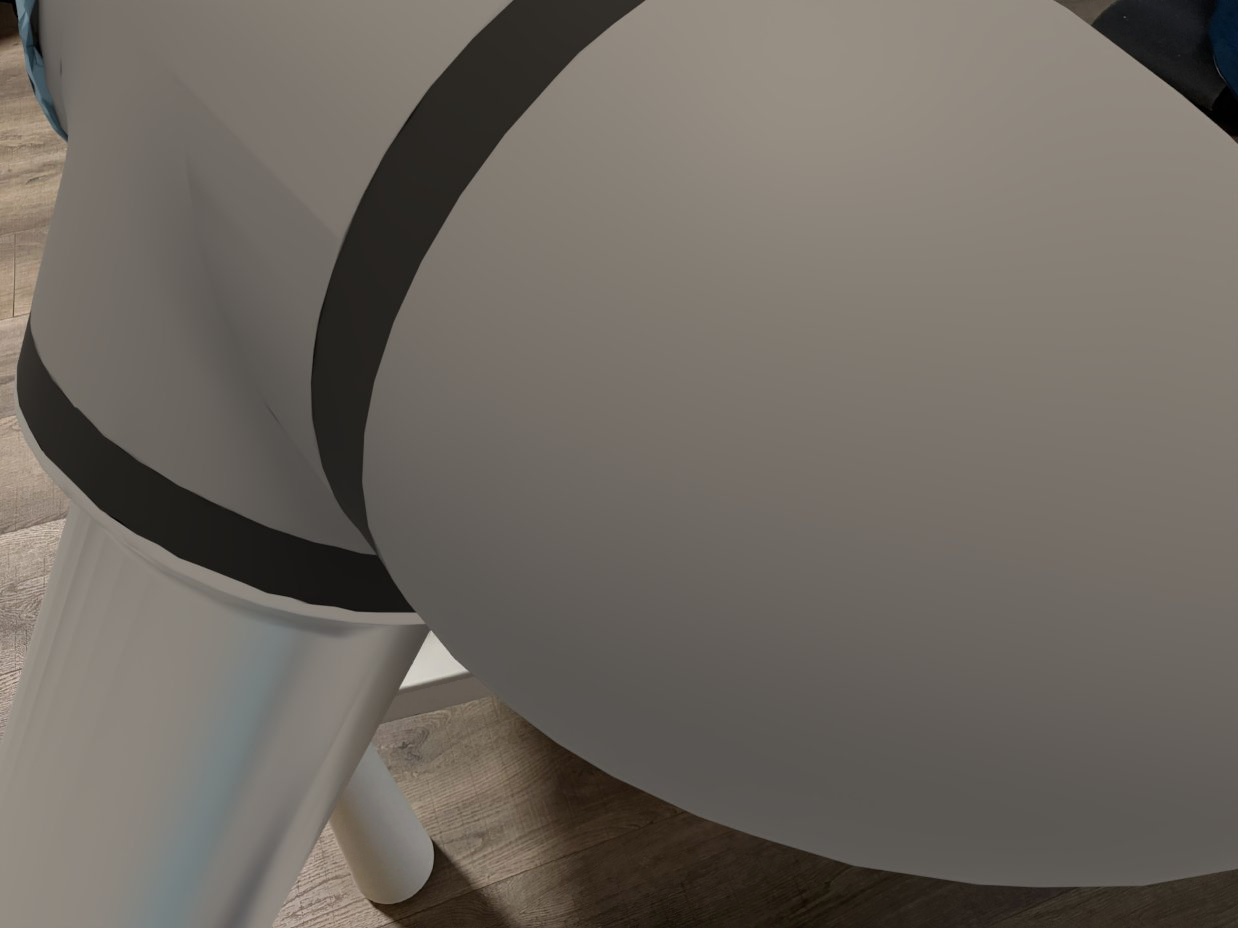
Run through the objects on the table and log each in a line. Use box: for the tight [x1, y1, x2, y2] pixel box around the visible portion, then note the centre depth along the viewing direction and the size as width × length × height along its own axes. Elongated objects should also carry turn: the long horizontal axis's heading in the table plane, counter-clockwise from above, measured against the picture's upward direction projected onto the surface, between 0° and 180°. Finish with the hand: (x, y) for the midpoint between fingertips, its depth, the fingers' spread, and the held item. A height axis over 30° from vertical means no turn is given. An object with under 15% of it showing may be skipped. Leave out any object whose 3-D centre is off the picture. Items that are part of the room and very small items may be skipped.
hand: (485, 399), depth 58 cm, fingers open, 13 cm apart
